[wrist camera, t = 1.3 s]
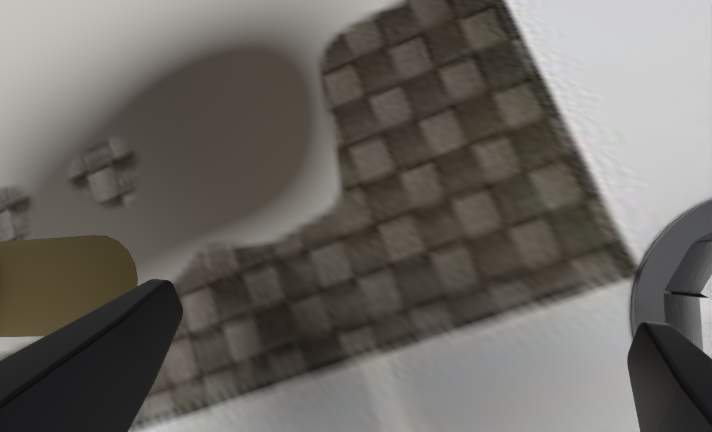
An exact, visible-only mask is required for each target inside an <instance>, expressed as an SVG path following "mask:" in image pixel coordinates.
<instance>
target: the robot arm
mask: <svg viewBox="0 0 712 432" xmlns="http://www.w3.org/2000/svg"><path fill="white" fill-rule="evenodd" d="M182 316H183V308H182V305H181V303H180V300H179V298H178V295H177V293H176V290H175V288H174V285H173V284H172V283H171V282H170V281H168V280H159V279H152V280H149V281H147V282H145V283H143V284H141V285H139V286H137V287H136V288H134V289H132V290H130V291H128V292H126V293H125V294H123V295H121V296H119V297H117V298H115V299H113V300H112V301H110V302H108V303H106V304H104V305H102V306H101V307H99V308H97V309H95V310H93V311H91V312H89V313H88V314H86V315H84V316H82V317H80V318H78V319H77V320H75V321H73V322H71V323H69V324H67V325H65V326H64V327H62V328H60V329H58V330H56V331H54V332H53V333H51V334H49V335H47V336H45V337H43V338H41V339H40V340H38V341H36V342H34V343H32V344H30V345H29V346H27V347H25V348H23V349H21V350H19V351H17V352H16V353H14V354H12V355H10V356H8V357H6V358H5V359H3V360H1V361H0V432H128V430H129V428H130V427H131V425H132V423H133V421H134V419H135V417H136V416H137V414H138V412H139V410H140V408H141V406H142V405H143V403H144V401H145V399H146V397H147V396H148V394H149V392H150V390H151V388H152V386H153V384H154V382H155V380H156V378H157V375H158V373H159V371H160V369H161V366H162V364H163V362H164V359H165V357H166V355H167V352H168V350H169V348H170V345H171V343H172V341H173V338H174V336H175V334H176V331H177V329H178V327H179V324H180V322H181V320H182ZM627 363H628V370H629V376H630V381H631V386H632V391H633V396H634V401H635V406H636V412H637V417H638V422H639V427H640V432H712V358H711V357H709V356H708V355H707V354H706V353H705V352H703V351H702V350H701V349H700V348H699V347H697V346H696V345H695V344H694V343H693V342H691V341H690V340H689V339H688V338H687V337H685V336H684V335H683V334H682V333H681V332H679V331H678V330H677V329H676V328H675V327H673V326H672V325H670V324H667V323H658V322H647V321H645V322H642V323H640V325H639V326H638V328H637V331H636V333H635V336H634V339H633V342H632V344H631V347H630V350H629V353H628V359H627Z"/></svg>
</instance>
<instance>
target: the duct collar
mask: <svg viewBox="0 0 712 432" xmlns="http://www.w3.org/2000/svg"><path fill="white" fill-rule="evenodd" d="M645 321H647V322H658V323H667V324H670V325H672V326H673V327H675V328H676V329H677V330H678V331H679V332H681V333H682V334H683V335H684V336H685V337H687V338H688V339H689V340H690V341H691V342H693V343H694V344H695V345H696V346H697V347H699V348H700V349H701V350H702V351H703V352H705V353H706V354H707V355H708V356H709V357H711V358H712V200H710V201H707V202H705V203H703V204H701V205H699V206H697V207H695V208H693V209H692V210H690V211H688V212H687V213H685V214H683V215H682V216H681V217H679V218H678V219H677V220H676V221H674V222H673V223H672V224H671V225H670V226H668V227H667V228H666V229H665V231H664V232H663V233H662V234H661V235H660V236H659V237H658V238H657V239H656V240H655V242H654V243H653V245H652V246H651V248H650V249H649V251H648V252H647V253H646V255H645V257H644V259H643V261H642V264H641V266H640V268H639V270H638V273H637V276H636V279H635V283H634V287H633V293H632V299H631V324H632V332H633V338H634V336H635V333H636V331H637V328H638V326H639V325H640V323H642V322H645Z"/></svg>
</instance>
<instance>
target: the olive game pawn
mask: <svg viewBox="0 0 712 432" xmlns="http://www.w3.org/2000/svg"><path fill="white" fill-rule="evenodd" d="M137 281H138V278H137V272H136V267H135V263H134V261H133V259H132V257H131V255H130V254H129V251H128V250H127V249H126V248H125V247H124V246H123V245H122V244H121V243H120V242H119V241H117V240H114V239H112V238H110V237H108V236H78V237H65V238H64V237H63V238H49V239H33V240H19V241H4V242H0V337H21V336H22V337H23V336H47V335H49V334H51V333H53V332H54V331H56V330H58V329H60V328H62V327H64V326H65V325H67V324H69V323H71V322H73V321H75V320H77V319H78V318H80V317H82V316H84V315H86V314H88V313H89V312H91V311H93V310H95V309H97V308H99V307H101V306H102V305H104V304H106V303H108V302H110V301H112V300H113V299H115V298H117V297H119V296H121V295H123V294H125V293H126V292H128V291H130V290H132V289H134V288H136V287H137Z"/></svg>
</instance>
